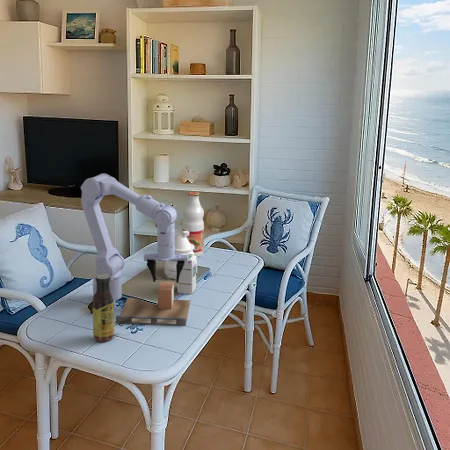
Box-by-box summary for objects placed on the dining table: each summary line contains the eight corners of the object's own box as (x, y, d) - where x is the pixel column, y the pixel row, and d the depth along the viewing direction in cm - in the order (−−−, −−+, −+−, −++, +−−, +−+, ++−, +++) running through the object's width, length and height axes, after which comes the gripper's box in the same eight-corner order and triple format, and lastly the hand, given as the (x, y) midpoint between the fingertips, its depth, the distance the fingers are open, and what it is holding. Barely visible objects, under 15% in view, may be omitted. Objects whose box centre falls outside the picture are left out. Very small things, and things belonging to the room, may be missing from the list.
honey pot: (200, 269, 203) (200, 227, 198) (192, 282, 191) (193, 237, 186) (169, 266, 205) (169, 225, 200) (160, 278, 193) (160, 234, 188)
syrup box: (192, 297, 178) (193, 260, 174) (176, 295, 179) (176, 258, 175) (196, 291, 183) (197, 254, 179) (181, 289, 184) (181, 252, 180)
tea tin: (158, 308, 166) (158, 289, 164) (161, 300, 172) (160, 281, 170) (171, 309, 166) (171, 290, 164) (173, 300, 172) (173, 282, 170)
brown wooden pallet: (116, 326, 156) (115, 316, 155) (127, 301, 174) (127, 292, 173) (185, 329, 156) (185, 319, 155) (190, 303, 173) (190, 294, 172)
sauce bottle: (103, 345, 146) (101, 283, 140) (88, 338, 149) (85, 277, 143) (119, 335, 151) (117, 275, 145) (104, 329, 154) (102, 270, 148)
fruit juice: (207, 253, 221) (209, 192, 213) (193, 259, 214) (194, 196, 206) (192, 248, 227) (193, 189, 218) (177, 254, 220) (178, 192, 211)
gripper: (141, 246, 159) (142, 285, 163) (186, 247, 159) (186, 286, 163) (145, 239, 166) (146, 276, 170) (188, 240, 166) (188, 278, 170)
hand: (166, 281), depth 167 cm, fingers open, 7 cm apart
